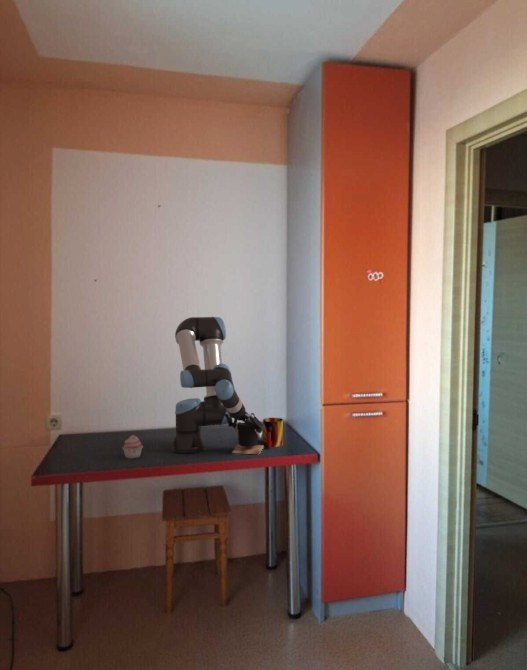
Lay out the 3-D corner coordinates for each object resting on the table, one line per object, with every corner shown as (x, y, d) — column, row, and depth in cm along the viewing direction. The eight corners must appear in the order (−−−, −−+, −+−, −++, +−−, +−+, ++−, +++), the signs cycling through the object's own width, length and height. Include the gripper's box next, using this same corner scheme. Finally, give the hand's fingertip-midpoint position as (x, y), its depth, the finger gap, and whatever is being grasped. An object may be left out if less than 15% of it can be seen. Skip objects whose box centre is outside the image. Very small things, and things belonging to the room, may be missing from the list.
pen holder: (255, 447, 227) (255, 425, 227) (235, 446, 229) (235, 424, 228) (260, 442, 236) (259, 421, 236) (240, 441, 238) (240, 420, 238)
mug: (268, 450, 234) (268, 424, 234) (260, 442, 248) (260, 418, 247) (288, 448, 237) (288, 423, 236) (279, 440, 250) (279, 417, 249)
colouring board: (232, 454, 228) (232, 451, 228) (238, 446, 240) (237, 443, 240) (259, 455, 226) (259, 452, 226) (263, 447, 238) (263, 444, 238)
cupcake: (126, 461, 219) (126, 438, 218) (119, 456, 226) (118, 434, 226) (147, 457, 224) (146, 435, 224) (138, 452, 232) (138, 431, 231)
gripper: (209, 412, 223) (227, 439, 238) (254, 416, 213) (270, 443, 228) (215, 398, 227) (233, 425, 242) (259, 401, 218) (275, 429, 233)
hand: (251, 434), depth 235 cm, fingers closed on pen holder, 9 cm apart
